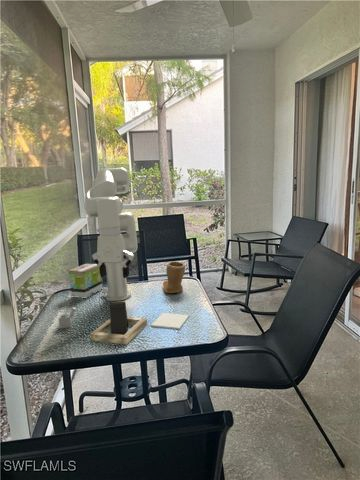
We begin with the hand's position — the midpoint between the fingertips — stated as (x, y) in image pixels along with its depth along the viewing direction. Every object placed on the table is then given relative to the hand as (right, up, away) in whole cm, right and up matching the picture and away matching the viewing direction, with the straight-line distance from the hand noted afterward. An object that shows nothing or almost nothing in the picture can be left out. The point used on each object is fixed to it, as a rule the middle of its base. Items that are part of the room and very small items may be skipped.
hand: (114, 276), depth 124 cm
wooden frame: (+1, -22, +4) cm, 22 cm away
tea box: (-25, -15, +52) cm, 60 cm away
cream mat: (+21, -19, +11) cm, 30 cm away
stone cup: (+22, -13, +49) cm, 55 cm away
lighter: (-21, -22, +12) cm, 33 cm away
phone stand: (+1, -22, +4) cm, 23 cm away
